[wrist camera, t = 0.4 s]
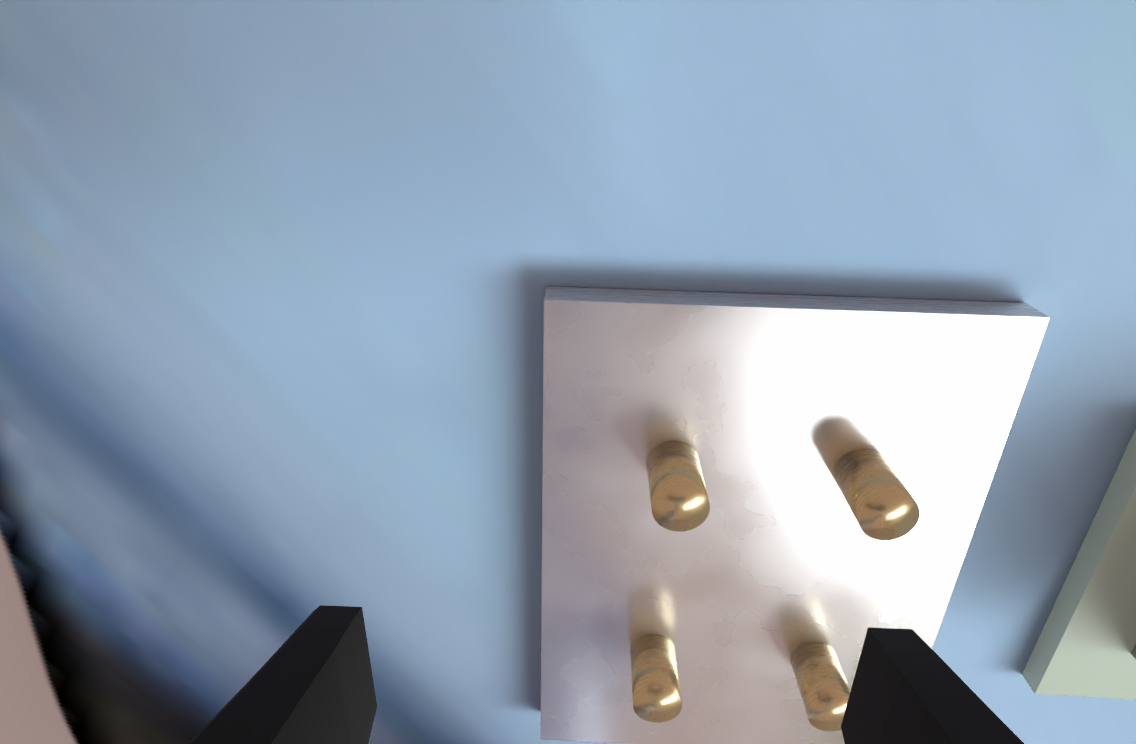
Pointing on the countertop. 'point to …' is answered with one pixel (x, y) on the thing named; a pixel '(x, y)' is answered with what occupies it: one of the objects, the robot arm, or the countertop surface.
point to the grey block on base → (1096, 605)
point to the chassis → (755, 499)
